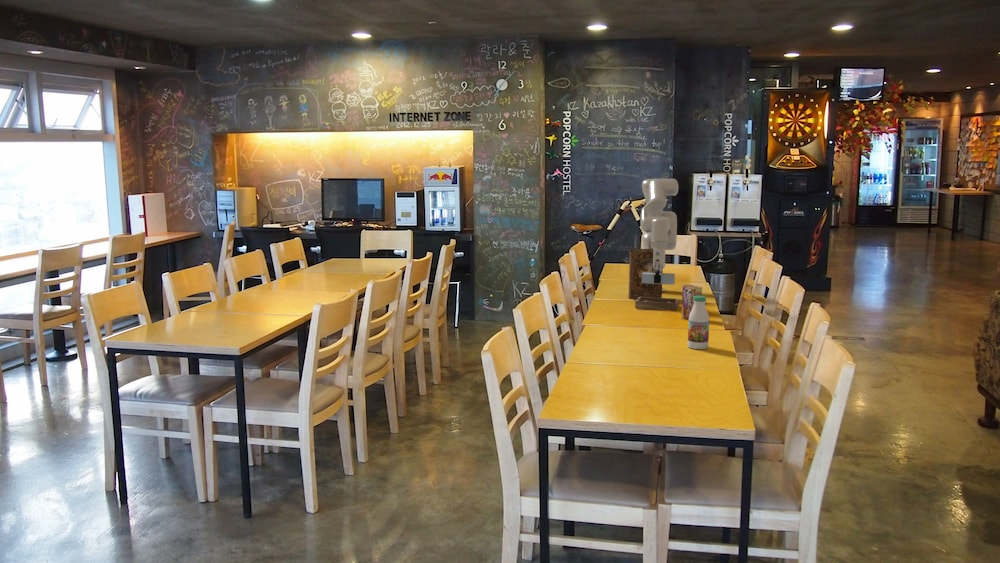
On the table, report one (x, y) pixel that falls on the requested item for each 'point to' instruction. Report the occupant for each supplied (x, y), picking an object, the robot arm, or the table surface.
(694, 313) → the milk bottle
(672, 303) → the frame
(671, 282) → the grey rectangular block
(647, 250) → the book
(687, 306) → the candy box
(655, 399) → the table surface
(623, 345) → the table surface
